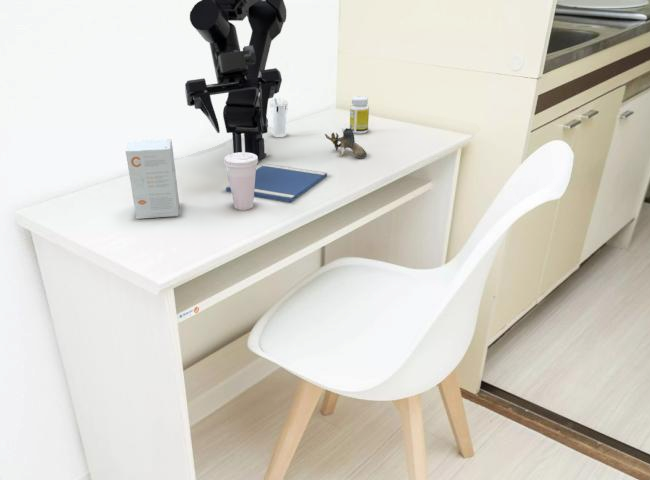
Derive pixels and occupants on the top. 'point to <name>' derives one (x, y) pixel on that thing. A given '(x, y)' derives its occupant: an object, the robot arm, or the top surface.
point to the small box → (153, 178)
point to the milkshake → (279, 116)
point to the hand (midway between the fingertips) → (241, 128)
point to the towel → (283, 182)
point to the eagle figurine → (347, 143)
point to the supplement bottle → (359, 115)
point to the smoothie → (242, 176)
